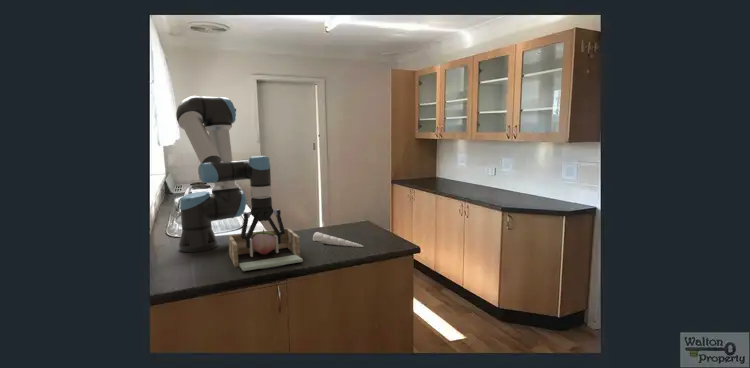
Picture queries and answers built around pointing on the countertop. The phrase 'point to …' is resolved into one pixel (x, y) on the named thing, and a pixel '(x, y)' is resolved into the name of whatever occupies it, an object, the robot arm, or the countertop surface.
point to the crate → (239, 247)
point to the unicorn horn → (333, 240)
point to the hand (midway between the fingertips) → (264, 253)
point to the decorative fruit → (264, 242)
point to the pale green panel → (270, 262)
